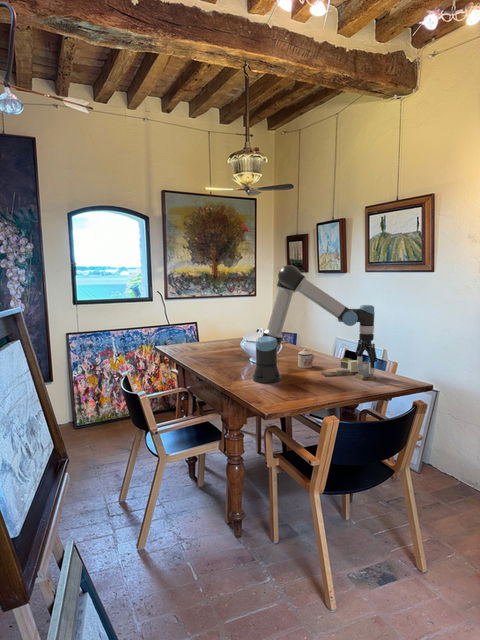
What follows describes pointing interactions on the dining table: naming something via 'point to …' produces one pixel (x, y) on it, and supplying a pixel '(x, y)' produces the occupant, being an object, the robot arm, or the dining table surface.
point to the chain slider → (350, 367)
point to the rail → (338, 373)
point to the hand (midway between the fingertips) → (365, 370)
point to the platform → (344, 363)
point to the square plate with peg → (365, 377)
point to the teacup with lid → (305, 359)
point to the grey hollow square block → (364, 369)
